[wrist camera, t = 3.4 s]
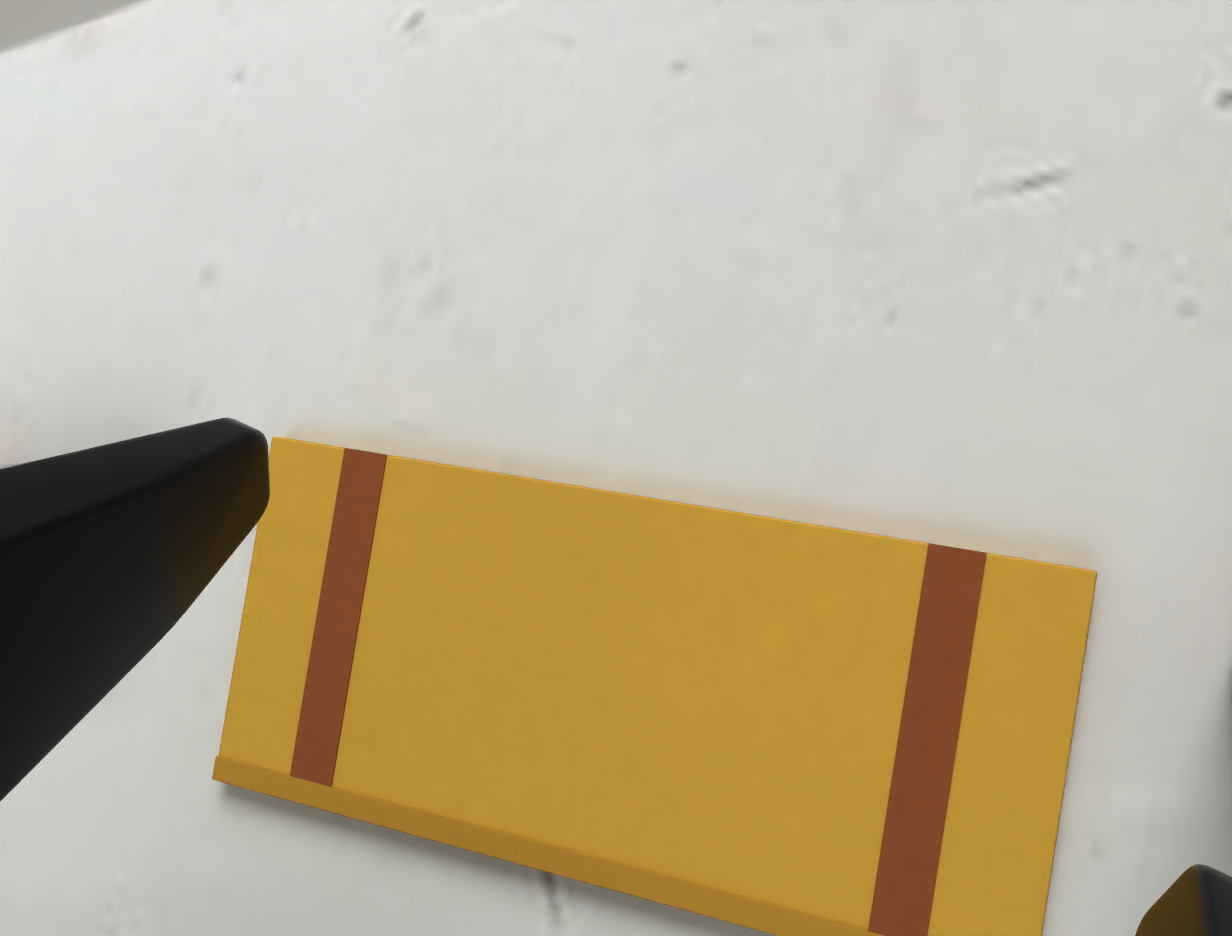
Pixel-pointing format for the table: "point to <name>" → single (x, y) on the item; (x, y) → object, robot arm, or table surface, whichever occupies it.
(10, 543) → the robot arm
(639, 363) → the table surface
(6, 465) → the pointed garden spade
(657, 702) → the tea towel
